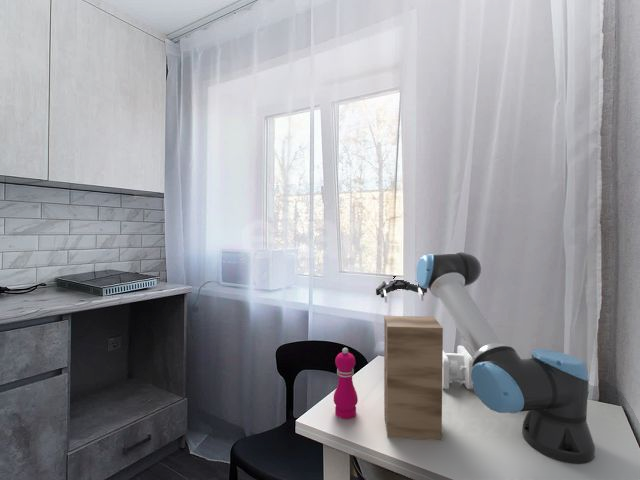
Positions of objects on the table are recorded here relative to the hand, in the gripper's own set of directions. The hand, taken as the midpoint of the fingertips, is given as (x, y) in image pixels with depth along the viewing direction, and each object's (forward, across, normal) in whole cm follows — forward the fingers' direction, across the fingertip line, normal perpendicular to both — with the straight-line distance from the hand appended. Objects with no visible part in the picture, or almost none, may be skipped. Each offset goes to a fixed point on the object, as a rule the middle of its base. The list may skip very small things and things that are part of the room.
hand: (403, 298), depth 127 cm
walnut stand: (+40, +4, -21) cm, 46 cm away
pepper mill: (+35, +23, -21) cm, 47 cm away
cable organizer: (+14, -14, -27) cm, 33 cm away
